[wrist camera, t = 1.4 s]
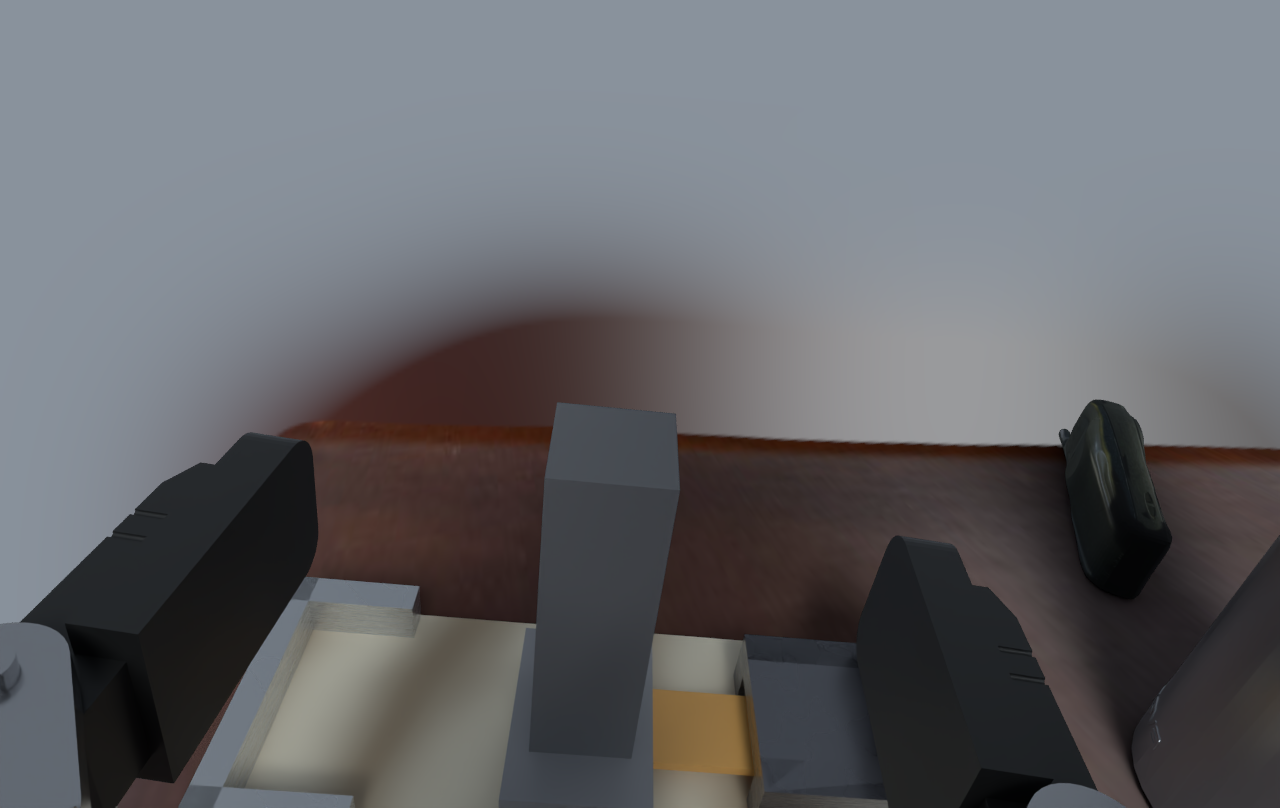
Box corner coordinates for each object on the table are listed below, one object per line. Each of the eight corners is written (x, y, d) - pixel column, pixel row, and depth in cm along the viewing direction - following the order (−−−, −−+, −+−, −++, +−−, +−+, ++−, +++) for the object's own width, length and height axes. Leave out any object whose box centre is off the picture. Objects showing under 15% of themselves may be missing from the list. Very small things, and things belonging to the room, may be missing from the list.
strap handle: (936, 680, 33) (1066, 420, 26) (998, 853, 27) (1188, 581, 20) (525, 647, 32) (538, 368, 25) (498, 819, 26) (505, 521, 19)
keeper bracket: (421, 615, 33) (419, 586, 32) (346, 863, 25) (341, 834, 24) (298, 605, 33) (293, 576, 32) (182, 852, 25) (170, 823, 24)
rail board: (924, 678, 35) (935, 656, 35) (1010, 926, 27) (1026, 905, 26) (298, 629, 34) (293, 604, 33) (185, 876, 26) (175, 851, 25)
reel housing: (924, 689, 33) (975, 586, 30) (978, 847, 28) (1047, 743, 24) (733, 675, 33) (762, 568, 29) (750, 832, 27) (788, 724, 24)
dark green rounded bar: (1190, 542, 38) (1127, 382, 50) (1123, 525, 39) (1077, 370, 51) (1142, 611, 41) (1093, 444, 53) (1080, 594, 42) (1046, 433, 53)
